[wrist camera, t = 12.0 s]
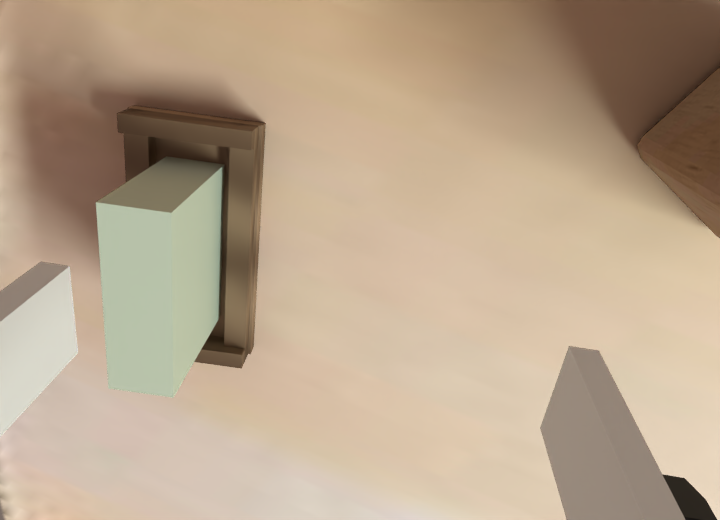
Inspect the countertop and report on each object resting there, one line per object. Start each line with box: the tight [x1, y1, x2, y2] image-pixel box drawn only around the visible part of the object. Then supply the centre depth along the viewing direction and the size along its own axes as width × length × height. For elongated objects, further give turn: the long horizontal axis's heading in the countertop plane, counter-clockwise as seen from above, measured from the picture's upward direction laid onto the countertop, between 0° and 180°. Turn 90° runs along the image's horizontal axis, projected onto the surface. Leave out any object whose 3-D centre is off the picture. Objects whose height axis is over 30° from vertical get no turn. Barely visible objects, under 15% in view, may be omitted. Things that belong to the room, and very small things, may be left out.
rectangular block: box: [96, 156, 225, 398], centre depth 37 cm, size 12×4×10 cm, turn 173°
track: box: [117, 105, 265, 368], centre depth 41 cm, size 18×9×3 cm, turn 173°
